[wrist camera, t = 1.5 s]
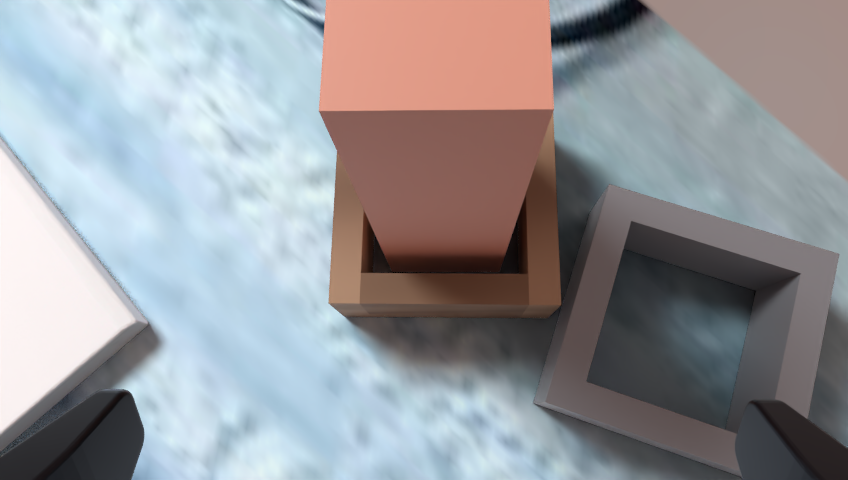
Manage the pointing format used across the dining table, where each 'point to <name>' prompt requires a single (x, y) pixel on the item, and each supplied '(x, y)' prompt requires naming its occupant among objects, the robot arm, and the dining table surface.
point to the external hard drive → (49, 304)
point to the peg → (438, 121)
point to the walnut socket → (450, 292)
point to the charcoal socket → (707, 254)
